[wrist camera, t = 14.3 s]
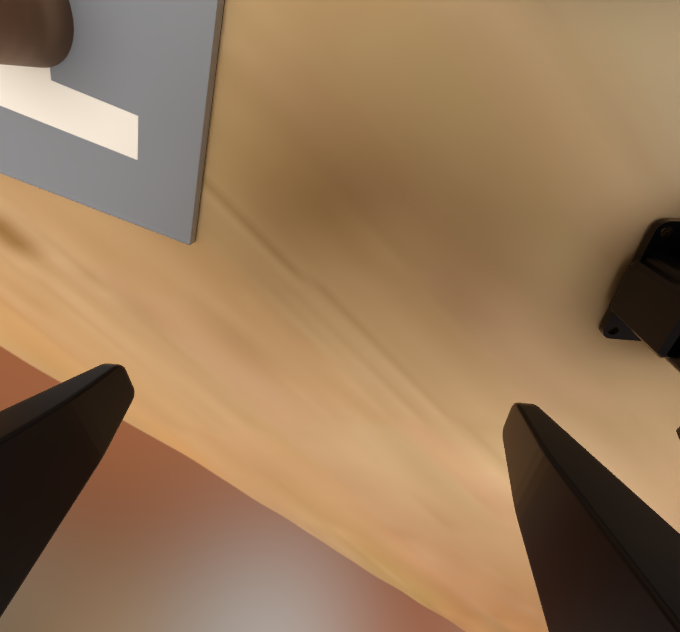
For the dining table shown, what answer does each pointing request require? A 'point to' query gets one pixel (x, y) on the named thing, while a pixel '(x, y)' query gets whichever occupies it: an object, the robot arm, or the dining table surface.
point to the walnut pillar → (35, 32)
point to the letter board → (120, 112)
